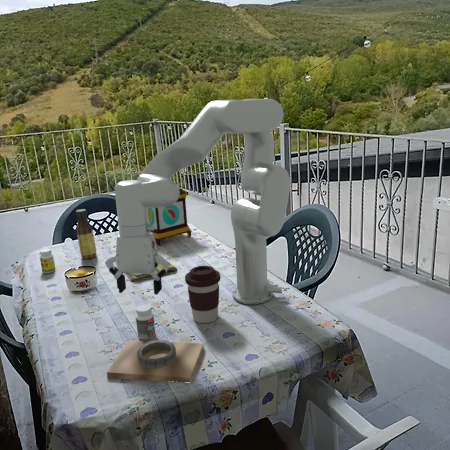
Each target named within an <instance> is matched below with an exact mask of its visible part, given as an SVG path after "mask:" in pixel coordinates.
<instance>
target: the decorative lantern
mask: <svg viewBox="0 0 450 450" xmlns="http://www.w3.org/2000/svg"><path fill="white" fill-rule="evenodd" d="M178 188H179V198H178V200H177V201H176V202H175V203H174V204H173V205H171V206H169V207H164V208H148V220H149V222H150V225H154V231H150V232H151V233H153V235H154V239H155V242H156V246H157V247H160V246H161V242H162V240H165V239H166V240H167V239H169V238H173V237H176V236H180V235H183V234H186V235H187V238H189V237H190V238H191V237H192V230H191V228H190V227H189V225H188V217H187V215H188V213H187V203H186V198H187V195H188V192H187V191H186V190H185V189H183V188H181V187H178Z"/></svg>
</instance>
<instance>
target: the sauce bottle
mask: <svg viewBox="0 0 450 450" xmlns="http://www.w3.org/2000/svg"><path fill="white" fill-rule="evenodd" d="M87 213H88V211H87V209H85V208H82V209H81V208H80V209H76V210H75V214H76V216H77V217H76V218H77V225H76V226H75V229H76V236H77V242H78V246H79V252H80V255H81V258H82V259H84V260H90V259H94V258H95V257H97V254H98V253H97V247H96V243H95V237H94V230H93V229H94V228H93V227H92V225H91V223H90V221H89V219H88V215H87Z"/></svg>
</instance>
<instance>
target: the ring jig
mask: <svg viewBox="0 0 450 450" xmlns="http://www.w3.org/2000/svg"><path fill="white" fill-rule="evenodd" d="M204 349H205V346H204V343H200V342H199V343H197V342H196V343H195V342H176V341H169V340H164V339H163V340H162V339H157V340H141V339H140V340H139V339H137V340H136V339H129V340H127V342H126V344H125V345H124V347H122V349H121V350H120V352H119V354H118V355H117V356H116V358H115V360H114V361H113V362H112V364H111V366H110V367H109V368H108V369H107V371H106V376H107V378H108V379H118V380H119V379H122V380H135V381H148V382H149V381H151V382H162V381H167V382H166V383H169V382H168V381H171V382H170V383H177V382H191V383H192V381H191V379H192V380H193V378H192V377H194V376H195V373H194V372H196V370H197V367H198V364H199V363H200V359H201V358H202V354H203V352H204ZM193 375H194V376H193ZM172 381H174V382H172ZM176 381H177V382H176Z"/></svg>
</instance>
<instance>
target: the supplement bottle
mask: <svg viewBox="0 0 450 450" xmlns="http://www.w3.org/2000/svg"><path fill="white" fill-rule="evenodd" d="M52 252H53V251H52V249H51V248H43V249H41V250H39V255H40V256H39V261H40V265H41V266H40V267H41V271H42V273H43V274H49V273H50V274H51V273H52V272H55V271H56V266H55V259H54V254H53V253H52Z"/></svg>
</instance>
